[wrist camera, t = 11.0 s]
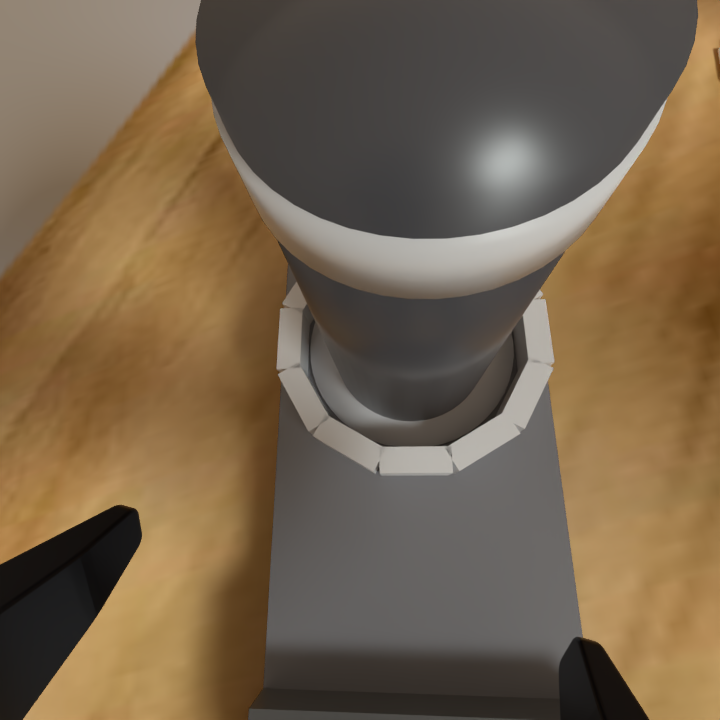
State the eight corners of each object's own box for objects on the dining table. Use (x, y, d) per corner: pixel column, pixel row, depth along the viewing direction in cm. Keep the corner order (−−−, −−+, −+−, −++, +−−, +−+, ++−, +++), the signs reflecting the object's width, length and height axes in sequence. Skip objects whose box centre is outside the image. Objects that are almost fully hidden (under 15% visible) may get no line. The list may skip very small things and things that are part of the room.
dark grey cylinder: (357, 444, 17) (237, 281, 4) (317, 303, 19) (158, -82, 6) (511, 397, 17) (827, 106, 4) (455, 262, 19) (565, -201, 6)
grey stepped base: (273, 844, 15) (232, 957, 12) (301, 265, 22) (281, 217, 19) (586, 864, 14) (653, 993, 11) (512, 256, 22) (536, 204, 18)
